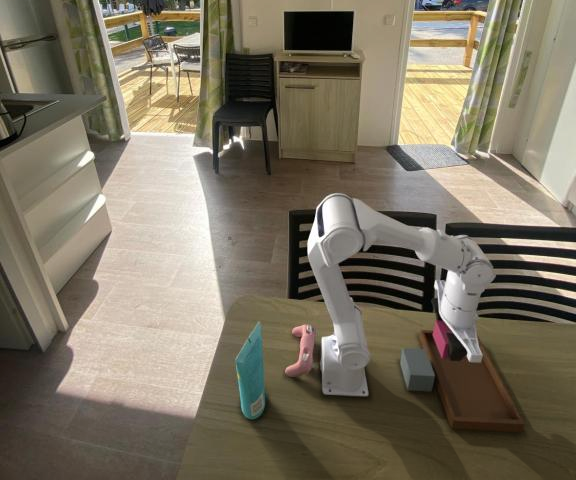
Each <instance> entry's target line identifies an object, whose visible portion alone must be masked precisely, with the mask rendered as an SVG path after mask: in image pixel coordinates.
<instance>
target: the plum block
mask: <svg viewBox="0 0 576 480" xmlns="http://www.w3.org/2000/svg"><path fill="white" fill-rule="evenodd" d="M433 326H434V327H433V338H434V340H435V343H436V345H437V348H438V350H439V353H440V355H441V358H442V359H450V358H449V355H448V350H449V343H448V339H447V336H446V333H453V332H452V331H451V329H450V328H449V327H448V326H447V324H446V323H445V322H444V321H438V320H436V319H435V322H434V325H433ZM465 357H466V356H464V357H463V359H462V360H465Z"/></svg>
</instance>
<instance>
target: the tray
mask: <svg viewBox="0 0 576 480" xmlns="http://www.w3.org/2000/svg"><path fill="white" fill-rule="evenodd" d="M433 331H434V329H433V330H429V329H420V330H419V341H420V343H421V346H422V349H426V352H427V355H428V358H429V360H430V363H431V366H432V369H433V372H434V374H435V379H434V383H435V387H436V389H437V392H438V394H439V397H440V401H441V404H442V406H443V409H444V411H445V415H446V417H447V420H448V424H449V426H450V429H452V430H472V431H490V432H507V433H508V432H509V433H510V432H511V433H522V432H523V429H524V427H525V422H524V419H523V418H522V416H521V414H520V412H519V411H518V409H517V406H516V404H515V403H514V401H513V399H512V398H511V396H510V393H509V391H508V390H507V388H506V386H505V384H504V382H503V380H502V378H501V377H500V375H499V373H498V371H497V369H496V367H495V365H494V363H493V362H492V360H491V358H490V356H489V354H488V352H487V350H486V348H485V346H484V344H483V341H482V340H481V338H480V336H479V335H478V334H477V338H478V341H479V343H480V350H481V352H482V354H483V357H482V360H481V363H479V362H477V363H476V362H469V360H468V358H467V355H466V357H465V360H461V361H451V360H450V359H442V358H441V355H440V353H439V350H438V348H437V345H436V343H435V340H434V338H433Z"/></svg>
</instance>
